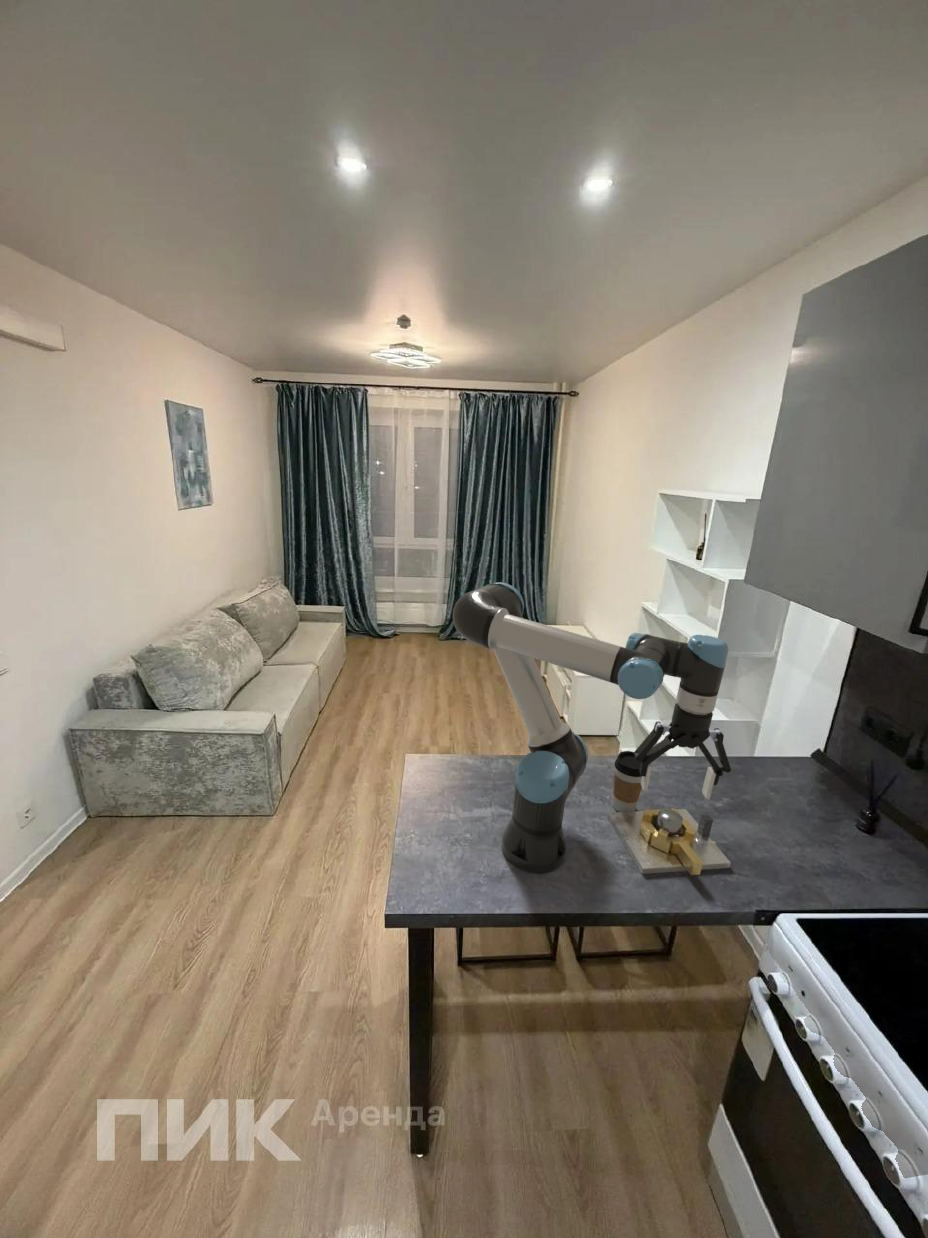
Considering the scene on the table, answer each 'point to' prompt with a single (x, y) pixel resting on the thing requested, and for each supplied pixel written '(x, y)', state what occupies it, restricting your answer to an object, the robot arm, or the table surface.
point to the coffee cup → (626, 782)
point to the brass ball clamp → (672, 840)
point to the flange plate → (657, 855)
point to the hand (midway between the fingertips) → (674, 791)
